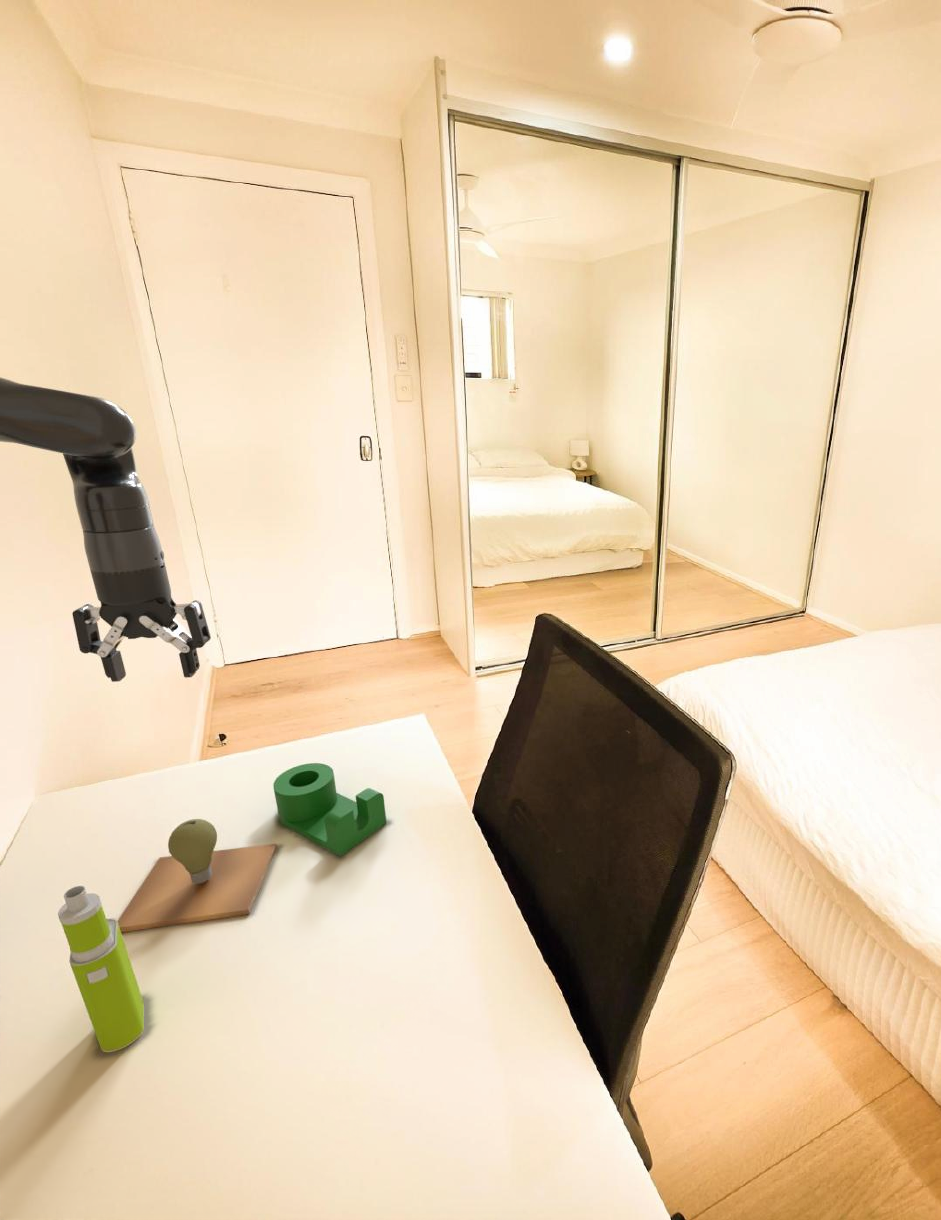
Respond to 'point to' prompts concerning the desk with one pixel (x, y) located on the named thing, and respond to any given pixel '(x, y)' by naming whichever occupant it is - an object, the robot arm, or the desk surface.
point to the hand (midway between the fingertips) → (155, 677)
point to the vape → (102, 970)
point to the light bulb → (194, 848)
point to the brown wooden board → (199, 890)
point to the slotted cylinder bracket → (326, 808)
